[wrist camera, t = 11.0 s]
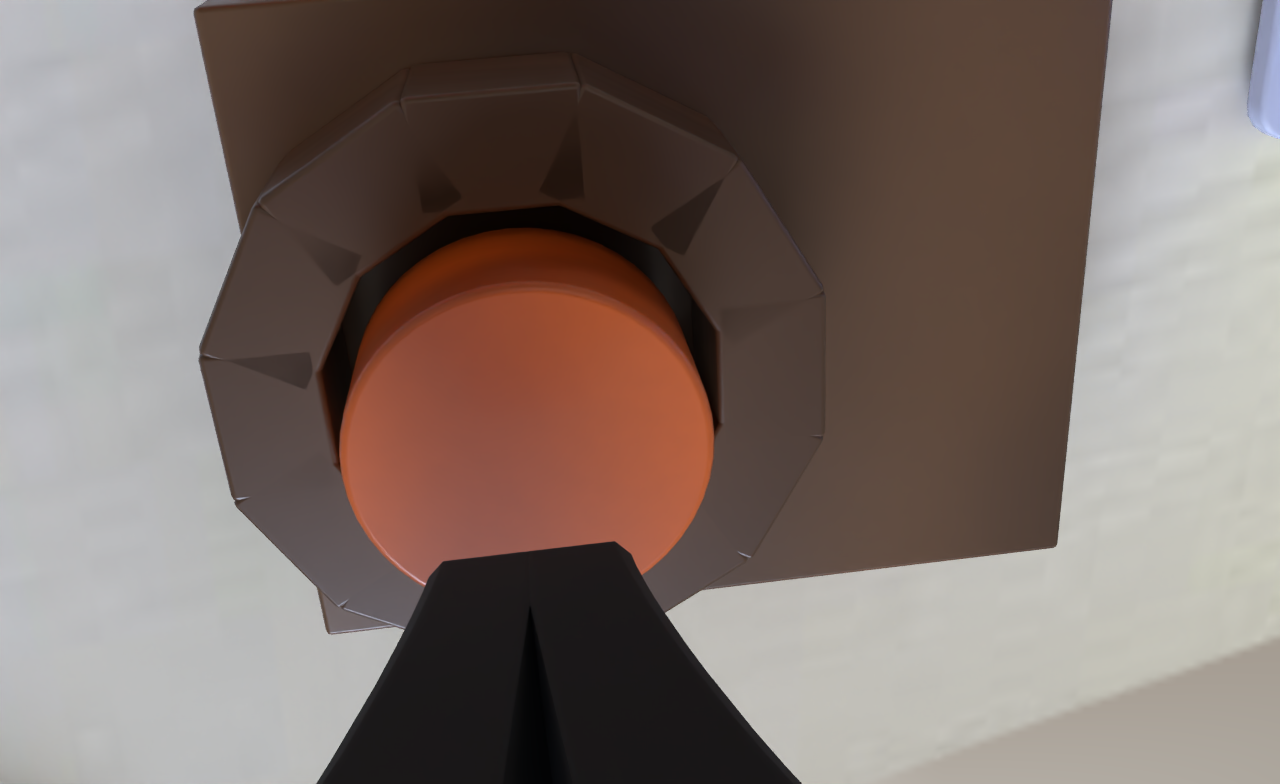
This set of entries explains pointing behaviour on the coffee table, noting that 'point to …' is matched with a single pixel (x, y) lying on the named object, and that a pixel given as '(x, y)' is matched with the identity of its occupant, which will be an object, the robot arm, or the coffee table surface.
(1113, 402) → the coffee table surface
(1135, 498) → the coffee table surface
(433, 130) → the button block
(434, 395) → the button
